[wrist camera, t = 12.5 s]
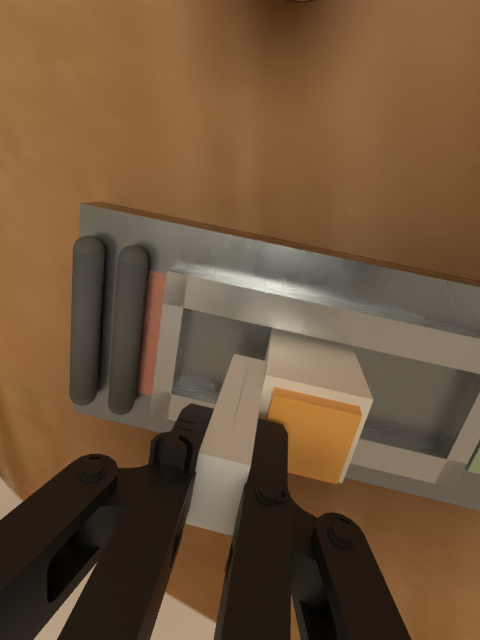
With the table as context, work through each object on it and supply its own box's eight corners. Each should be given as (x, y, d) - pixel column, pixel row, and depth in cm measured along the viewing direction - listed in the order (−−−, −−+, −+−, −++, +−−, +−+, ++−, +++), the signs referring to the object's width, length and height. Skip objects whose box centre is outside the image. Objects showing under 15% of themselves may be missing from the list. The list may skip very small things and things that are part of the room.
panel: (100, 201, 19) (66, 204, 16) (608, 308, 18) (672, 332, 15) (91, 394, 24) (62, 423, 21) (500, 492, 22) (533, 540, 19)
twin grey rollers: (83, 231, 18) (67, 234, 17) (154, 246, 18) (143, 251, 16) (77, 394, 21) (64, 407, 20) (137, 408, 21) (127, 422, 20)
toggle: (272, 327, 18) (264, 382, 13) (351, 345, 18) (377, 408, 13) (255, 395, 20) (243, 470, 14) (329, 412, 19) (344, 494, 14)
